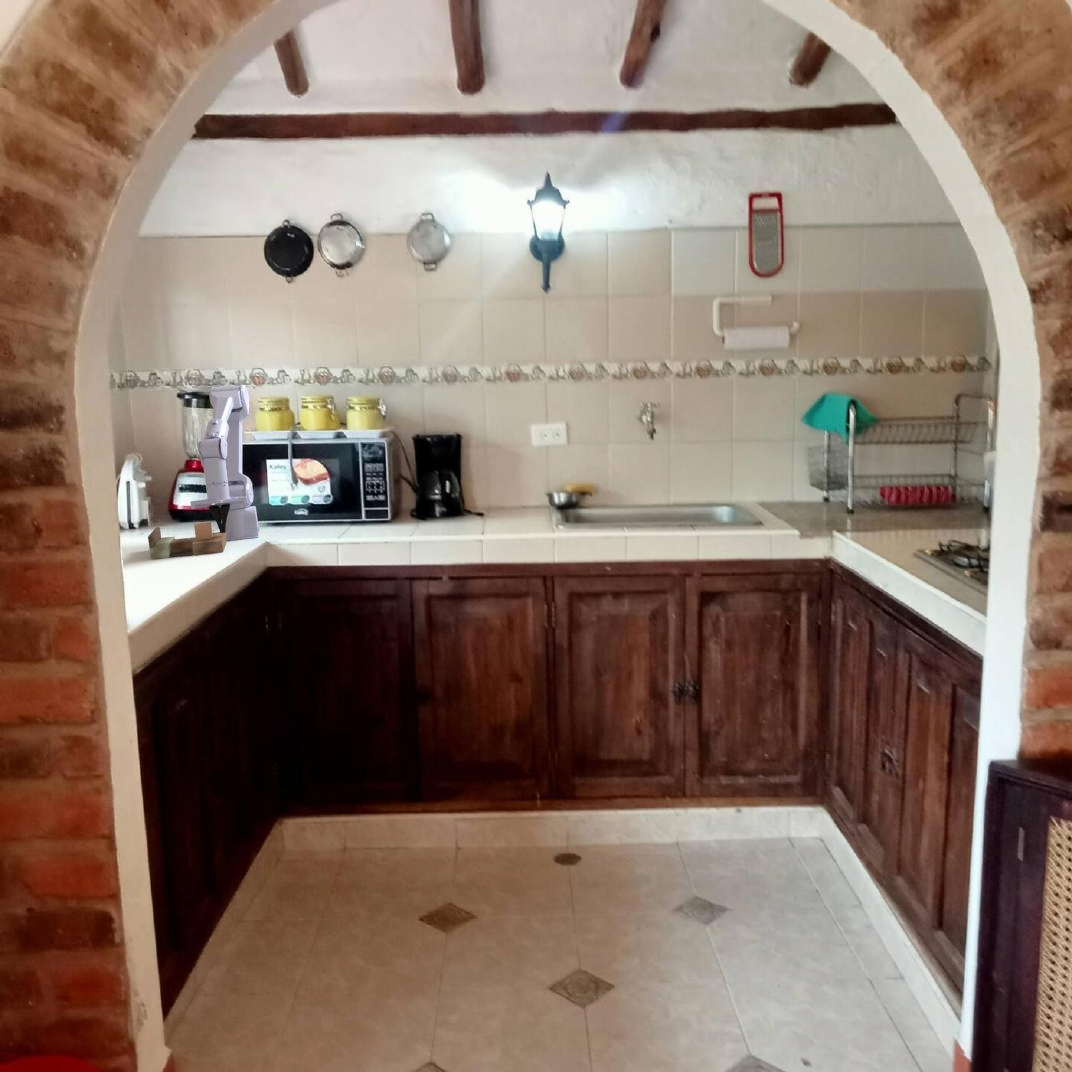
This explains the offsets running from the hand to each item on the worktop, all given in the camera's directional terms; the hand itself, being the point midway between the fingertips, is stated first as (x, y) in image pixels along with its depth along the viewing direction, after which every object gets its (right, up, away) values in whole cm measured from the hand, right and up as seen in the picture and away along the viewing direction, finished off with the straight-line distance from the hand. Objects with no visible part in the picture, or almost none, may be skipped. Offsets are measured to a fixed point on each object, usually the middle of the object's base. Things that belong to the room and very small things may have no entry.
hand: (222, 532), depth 256 cm
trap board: (-8, -5, -1) cm, 10 cm away
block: (-5, -2, -1) cm, 5 cm away
